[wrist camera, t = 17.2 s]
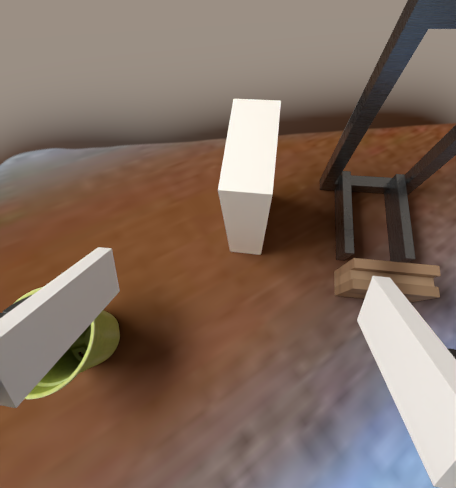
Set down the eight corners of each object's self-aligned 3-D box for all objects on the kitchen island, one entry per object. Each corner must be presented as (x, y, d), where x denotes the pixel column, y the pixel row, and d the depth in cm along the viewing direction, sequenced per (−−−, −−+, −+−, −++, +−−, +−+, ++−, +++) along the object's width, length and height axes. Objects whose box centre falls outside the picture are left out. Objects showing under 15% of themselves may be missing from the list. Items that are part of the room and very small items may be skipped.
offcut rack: (406, 185, 34) (632, -20, 14) (417, 267, 30) (744, 145, 10) (319, 180, 35) (415, -16, 15) (319, 258, 31) (446, 133, 12)
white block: (266, 193, 35) (280, 100, 21) (260, 254, 32) (272, 194, 18) (238, 191, 35) (233, 98, 21) (230, 251, 32) (217, 189, 18)
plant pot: (89, 284, 32) (36, 269, 24) (149, 318, 30) (113, 313, 22) (43, 354, 30) (-34, 363, 22) (105, 396, 28) (46, 423, 20)
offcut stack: (402, 278, 30) (439, 265, 24) (405, 303, 29) (443, 296, 23) (333, 271, 31) (353, 258, 25) (334, 295, 30) (355, 287, 24)
